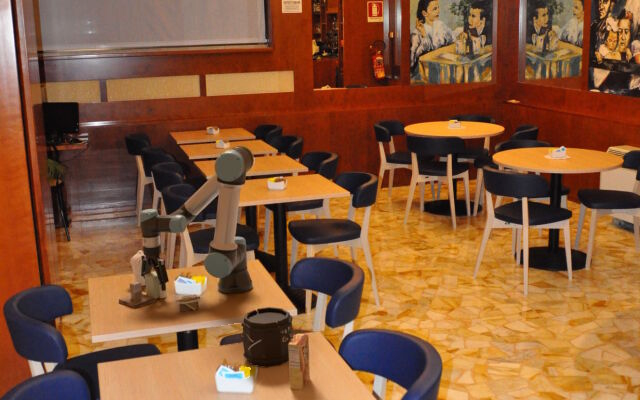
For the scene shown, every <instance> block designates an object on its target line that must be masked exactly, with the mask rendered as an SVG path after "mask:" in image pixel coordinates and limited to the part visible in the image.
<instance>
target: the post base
mask: <svg viewBox="0 0 640 400" xmlns="http://www.w3.org/2000/svg"><path fill="white" fill-rule="evenodd" d="M142 291H143V290H142V286H141V283H140V282H137V281H136V280H135V281H133V282H129V293H130V294H129V295H127V296H125V297H122V298H118V303H119V304H123V305H125V306H128V307H130V308H133V309H137V308H141V307H144V306H146V305H149V304H152V303H156V299H155V298H153V297H150V296H147V294H144V293H143V292H142Z"/></svg>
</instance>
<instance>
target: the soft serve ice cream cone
mask: <svg viewBox="0 0 640 400" xmlns="http://www.w3.org/2000/svg"><path fill="white" fill-rule="evenodd" d="M143 255H144V254H143V250H141V249H140V250H138V251H137V253H136V254H134V255H133V256H132V257H131V258H130V261H129V262H130V265H131V268H132V272H133V273H132V274H133V276H134V279H135V281H137V282H140V283H141V287H143V286H146V285H145V279H144V277H143V276H141V267H142V258H141V256H143ZM144 273H145V272H144Z"/></svg>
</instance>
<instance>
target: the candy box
mask: <svg viewBox="0 0 640 400" xmlns="http://www.w3.org/2000/svg"><path fill="white" fill-rule="evenodd" d="M309 347H310V345H309V334H306V333H305V334H304V333H296V335H294V336H293V339H292V340H291V342H290V343H289V344H288V349H289V361H288V366H289V367H288V368H289V386H290V389H291V390H299V391H300V390H303V388H304V387H305V385H306V384H307V383H308V381H309V380H310V378H311V373H310V349H309Z"/></svg>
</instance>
